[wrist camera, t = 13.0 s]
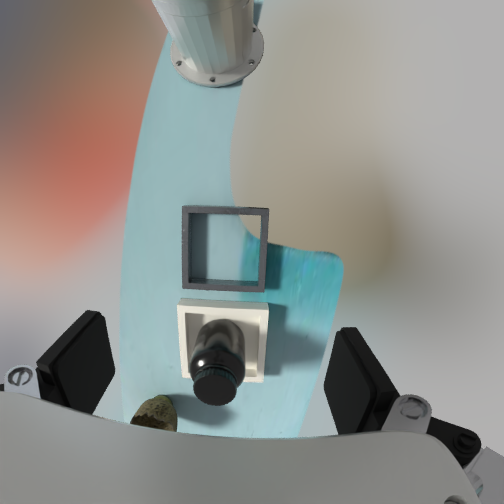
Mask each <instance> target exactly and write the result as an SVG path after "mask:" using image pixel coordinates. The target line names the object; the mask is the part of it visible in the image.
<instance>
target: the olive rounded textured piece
mask: <svg viewBox="0 0 504 504" xmlns="http://www.w3.org/2000/svg"><path fill="white" fill-rule="evenodd" d="M130 424H133V425H138V426H143V427H149V428H154V429H160V430H166V431H173V432H177V413H176V410H175V408H174V407H173V404H172V401H171V400H170V399H169V398H168V397H166V396H163V395H158V396H156V397H154V398H152V399H149V400H147V401H145V402H144V403H143V404H142V405H141V406H140V408H139V409H138V410H137V412H136V413H135V415H134V417H133V418H132V420H131V422H130Z"/></svg>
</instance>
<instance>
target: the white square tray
mask: <svg viewBox="0 0 504 504" xmlns="http://www.w3.org/2000/svg"><path fill="white" fill-rule="evenodd" d="M177 313H178V330H179V345H180V358H181V369H182V378H191V376H190V372H189V365H190V360H191V357H192V353H193V350H194V346H195V343H196V339H197V336H198V333H199V331H200V329H201V328H202V326H203V325H205V324H206V323H207V322H209V321H212V320H217V319H223V320H228V321H231V322H233V323H235V324H236V325H237V326H238V327H239V328H240V329H241V330H242V332H243V334H244V338H245V363H246V372H245V378H244V380H243V382H263V377H264V365H265V353H266V341H267V328H268V315H269V308H268V303H266V302H239V301H218V300H201V299H185V298H181V299H180V301H179V303H178V304H177Z"/></svg>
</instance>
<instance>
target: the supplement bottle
mask: <svg viewBox="0 0 504 504" xmlns="http://www.w3.org/2000/svg"><path fill="white" fill-rule="evenodd" d="M189 372H190V376H191V378H192V380H193V382H194V385H193V390H194V393H195V395H196V397H198V399H200V400H201V401H202V402H204V403H207V404H208V405H215V406H221V405H225V404H228V403H229V402H231V401H232V400H233V399H234V398H235V395H236V393H237V388H238V387H239V386H240V385H241V383H242V382H243V380H244V378H245V372H246V363H245V338H244V334H243V332H242V330H241V329H240V328H239V327H238V326H237V325H236V324H235V323H233V322H231V321H228V320H223V319H217V320H212V321H209V322H207V323H206V324H205V325H203V326H202V328H201V329H200V331H199V333H198V336H197V339H196V343H195V346H194V350H193V353H192V357H191V360H190V365H189Z"/></svg>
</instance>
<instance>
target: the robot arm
mask: <svg viewBox="0 0 504 504" xmlns="http://www.w3.org/2000/svg"><path fill="white" fill-rule="evenodd" d="M152 2H153V4H154V6H155V7H156V9H157V11H158V13H159V15H160V16H161V18H162V20H163V22H164V24H165V26H166V28H167V29H168V31H169V33H170V35H171V37H172V39H173V41H172V45H171V52H170V55H171V60H172V63H173V65H174V67H175V69H176V70H177V72H178V73H179V74H180V75H181V76H182V77H183V78H184V79H186V80H188V81H189V82H191V83H194V84H196V85H200V86H205V87H219V86H226V85H229V84H233V83H235V82H238V81H240V80H242V79H244V78H245V77H247V76H248V75H249V74H250V73H252V72H253V71H254V70H255V69H256V67H257V66H258V64H259V63H260V61H261V58H262V56H263V50H264V41H263V36H262V34H261V32H260V30H259V29H258V27H257V26H256V25H255V24H254V23H253V7H254V0H152ZM251 63H252V64H253V65H249V64H251ZM180 64H182V65H180ZM179 65H180V66H179ZM213 80H215V82H212V81H213ZM36 363H37V366H38V367H37V368H36V369H34V368H33V367H32V366H29V365H18V366H14V367H13V368H11V369H10V370H8V371H7V373H6V374H5V377H4V384H0V504H504V457H503V456H501V455H500V454H498V453H496V452H495V451H493V450H491V449H490V448H488V447H486V448H485V449H483V448H481V441H480V438H479V437H478V436H477V434H476V433H474V432H473V431H471V430H468V429H465V428H462V427H459V426H456V425H454V424H451V423H448V422H445V421H442V420H439V419H436V418H434V417H431V413H432V409H431V406H430V404H429V403H428V402H427V401H426V400H425V399H423V398H421V397H419V396H417V395H402V396H400V395H399V393H398V391H397V390H396V388H395V386H394V385H393V383H392V382H391V380H390V378H389V377H388V375H387V374H386V372H385V371H384V369H383V367H382V366H381V364H380V363H379V361H378V360H377V359H376V357H375V355H374V354H373V353H372V351H371V349H370V348H369V346H368V345H367V343H366V342H365V340H364V338H363V337H362V335H361V334H360V332H359V331H358V329H357V328H356V327H343V328H341V330H340V331H337V332H336V336H335V340H334V345H333V349H332V353H331V358H330V361H329V366H328V369H327V373H326V377H325V381H324V391H325V394H326V397H327V400H328V404H329V407H330V409H331V413H332V416H333V419H334V422H335V425H336V428H337V431H338V434H339V435H331V436H318V437H300V438H238V437H220V436H208V435H198V434H189V433H181V432H173V431H166V430H160V429H154V428H149V427H143V426H138V425H133V424H128V423H124V422H119V421H115V420H111V419H106V418H103V417H99V416H95V415H92V414H93V412H94V410H95V409H96V407H97V405H98V403H99V401H100V399H101V398H102V396H103V394H104V392H105V391H106V389H107V387H108V385H109V384H110V382H111V380H112V378H113V376H114V374H115V366H114V361H113V357H112V352H111V347H110V343H109V338H108V333H107V327H106V321H105V317H104V316H102V315H101V313H100V312H97V311H90V310H87V311H85V313H83V314H82V315H81V316H80V317H79V318H78V319H77V320H76V321H75V322H74V324H72V325H71V326H70V327H69V328H68V329H67V330H66V331H65V332H64V333H63V334H62V335H61V336H60V337H59V339H58V340H57V341H56V342H55V343H54V344H53V345H52V346H51V347H50V348H49V349H48V350H47V351H46V352H45V353H44V354H43V355H42V356H41V357H40V359H38V361H37V362H36Z"/></svg>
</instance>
